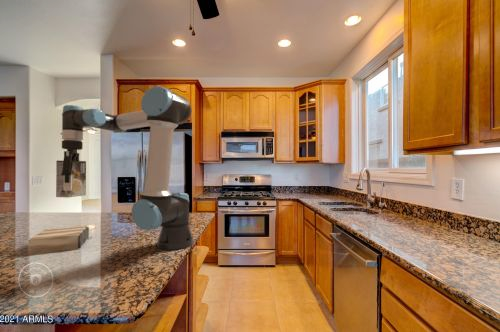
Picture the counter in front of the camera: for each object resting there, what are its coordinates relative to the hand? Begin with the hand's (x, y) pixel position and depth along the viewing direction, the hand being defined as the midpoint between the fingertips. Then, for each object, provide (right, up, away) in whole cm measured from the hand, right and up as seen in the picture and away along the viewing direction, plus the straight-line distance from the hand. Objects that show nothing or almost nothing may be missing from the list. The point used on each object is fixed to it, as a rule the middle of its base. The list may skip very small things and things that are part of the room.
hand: (71, 189), depth 106 cm
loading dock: (-3, -25, -2) cm, 25 cm away
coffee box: (0, -3, 0) cm, 3 cm away
